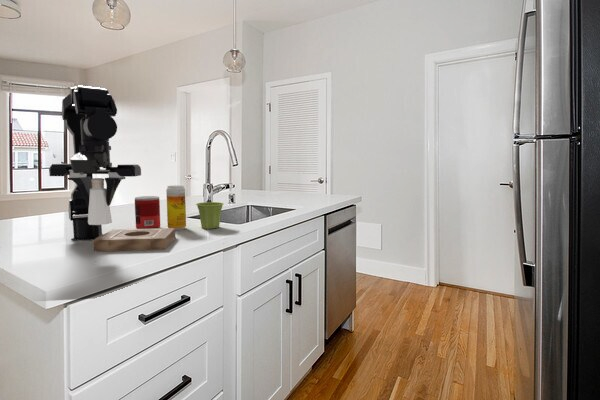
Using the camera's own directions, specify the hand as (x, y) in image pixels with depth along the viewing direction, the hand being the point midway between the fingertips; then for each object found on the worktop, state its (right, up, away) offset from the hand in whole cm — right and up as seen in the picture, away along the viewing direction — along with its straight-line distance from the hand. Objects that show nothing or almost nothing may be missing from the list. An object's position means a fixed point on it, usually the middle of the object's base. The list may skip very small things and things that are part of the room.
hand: (99, 205), depth 85 cm
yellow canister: (+6, -9, +36) cm, 38 cm away
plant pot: (+17, -9, +39) cm, 44 cm away
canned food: (-4, -9, +37) cm, 38 cm away
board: (+3, -11, +15) cm, 19 cm away
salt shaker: (0, -5, 0) cm, 4 cm away
